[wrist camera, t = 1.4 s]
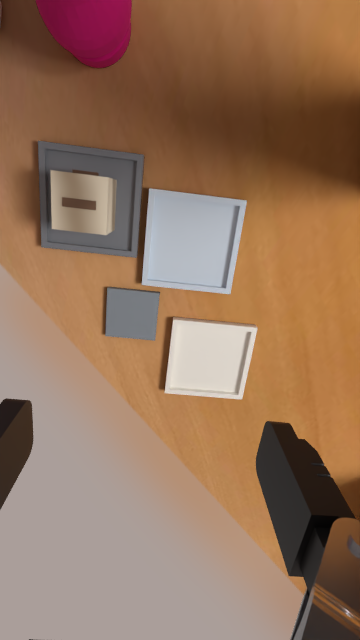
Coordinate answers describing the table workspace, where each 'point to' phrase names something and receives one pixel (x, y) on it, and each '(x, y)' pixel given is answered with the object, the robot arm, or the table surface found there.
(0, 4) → the supplement can
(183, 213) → the tray bluegrey
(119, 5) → the pepper mill
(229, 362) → the tray cream
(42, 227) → the tray charcoal
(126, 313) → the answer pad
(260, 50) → the table surface
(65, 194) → the beige cube
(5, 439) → the robot arm
